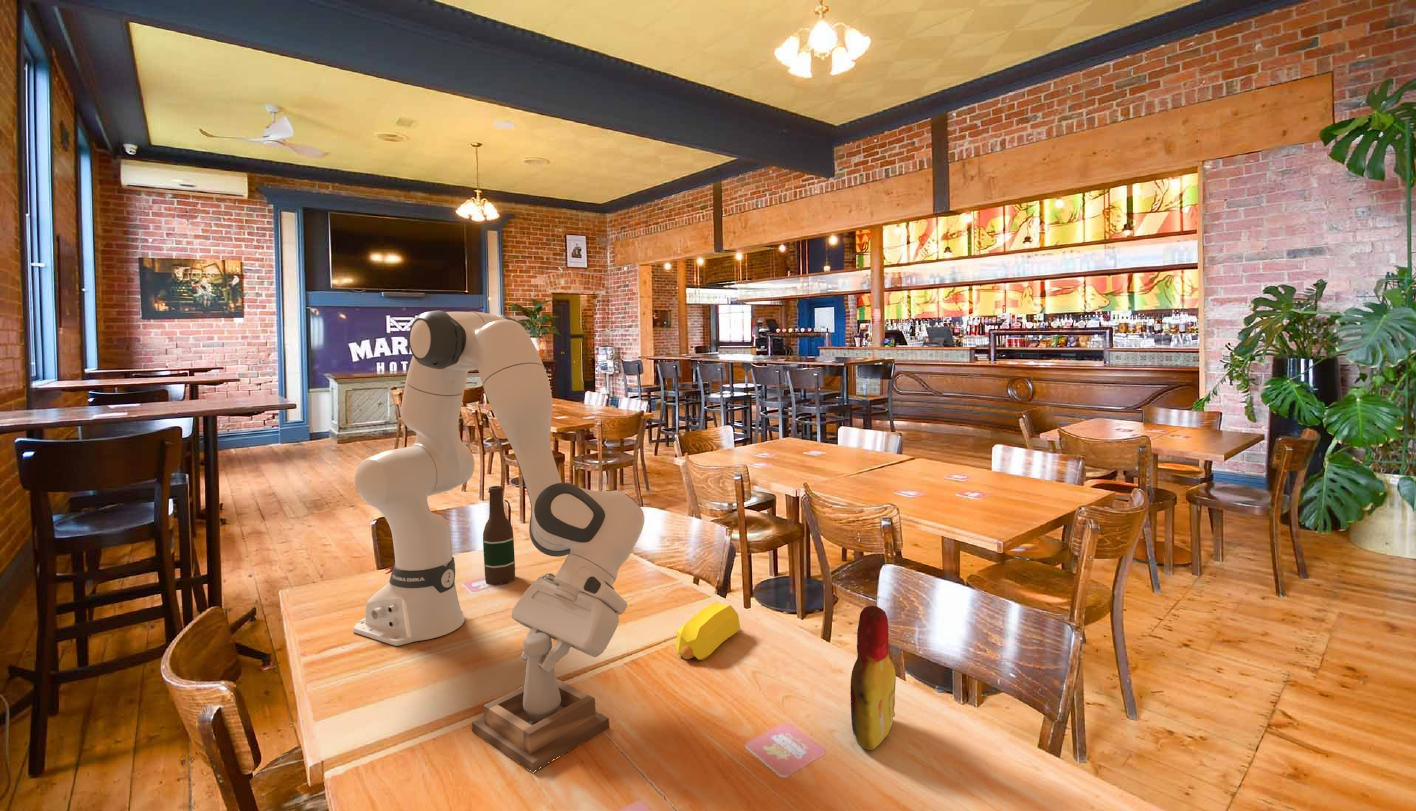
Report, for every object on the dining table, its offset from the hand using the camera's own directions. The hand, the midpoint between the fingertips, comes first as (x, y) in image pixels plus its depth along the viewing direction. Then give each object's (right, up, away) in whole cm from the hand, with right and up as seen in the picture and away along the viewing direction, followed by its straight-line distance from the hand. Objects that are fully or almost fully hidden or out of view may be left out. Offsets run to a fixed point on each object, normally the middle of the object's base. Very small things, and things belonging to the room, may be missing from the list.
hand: (534, 665), depth 102 cm
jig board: (+1, -11, +2) cm, 11 cm away
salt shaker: (+1, -9, +2) cm, 9 cm away
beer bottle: (-26, -5, +67) cm, 72 cm away
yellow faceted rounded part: (+27, -8, +29) cm, 40 cm away
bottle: (+51, -10, -2) cm, 52 cm away
